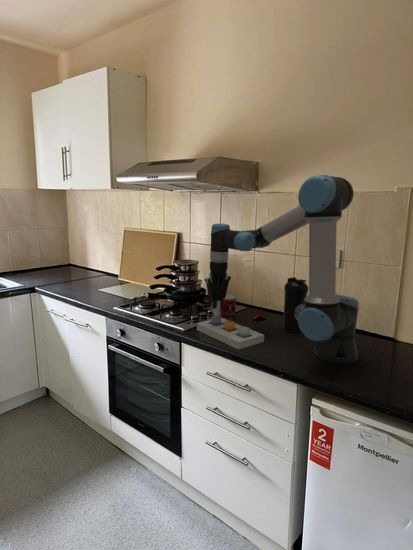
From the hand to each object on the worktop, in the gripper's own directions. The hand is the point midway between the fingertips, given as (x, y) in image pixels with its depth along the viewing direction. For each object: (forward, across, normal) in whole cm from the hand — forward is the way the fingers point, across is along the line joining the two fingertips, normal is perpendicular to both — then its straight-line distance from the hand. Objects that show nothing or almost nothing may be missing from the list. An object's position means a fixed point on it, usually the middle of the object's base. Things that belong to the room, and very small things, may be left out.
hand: (216, 315), depth 167 cm
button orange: (+4, 0, +9) cm, 10 cm away
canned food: (+7, -14, -8) cm, 18 cm away
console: (+7, 0, +9) cm, 11 cm away
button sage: (+4, 0, +17) cm, 18 cm away
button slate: (+4, 0, 0) cm, 4 cm away
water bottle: (+7, -29, +19) cm, 35 cm away
